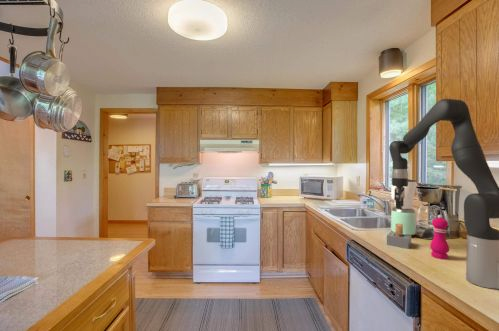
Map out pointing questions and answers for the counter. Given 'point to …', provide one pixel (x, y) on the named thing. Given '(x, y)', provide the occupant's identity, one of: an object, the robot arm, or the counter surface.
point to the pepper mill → (439, 238)
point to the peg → (399, 230)
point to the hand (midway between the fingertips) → (399, 207)
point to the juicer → (405, 210)
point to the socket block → (399, 240)
